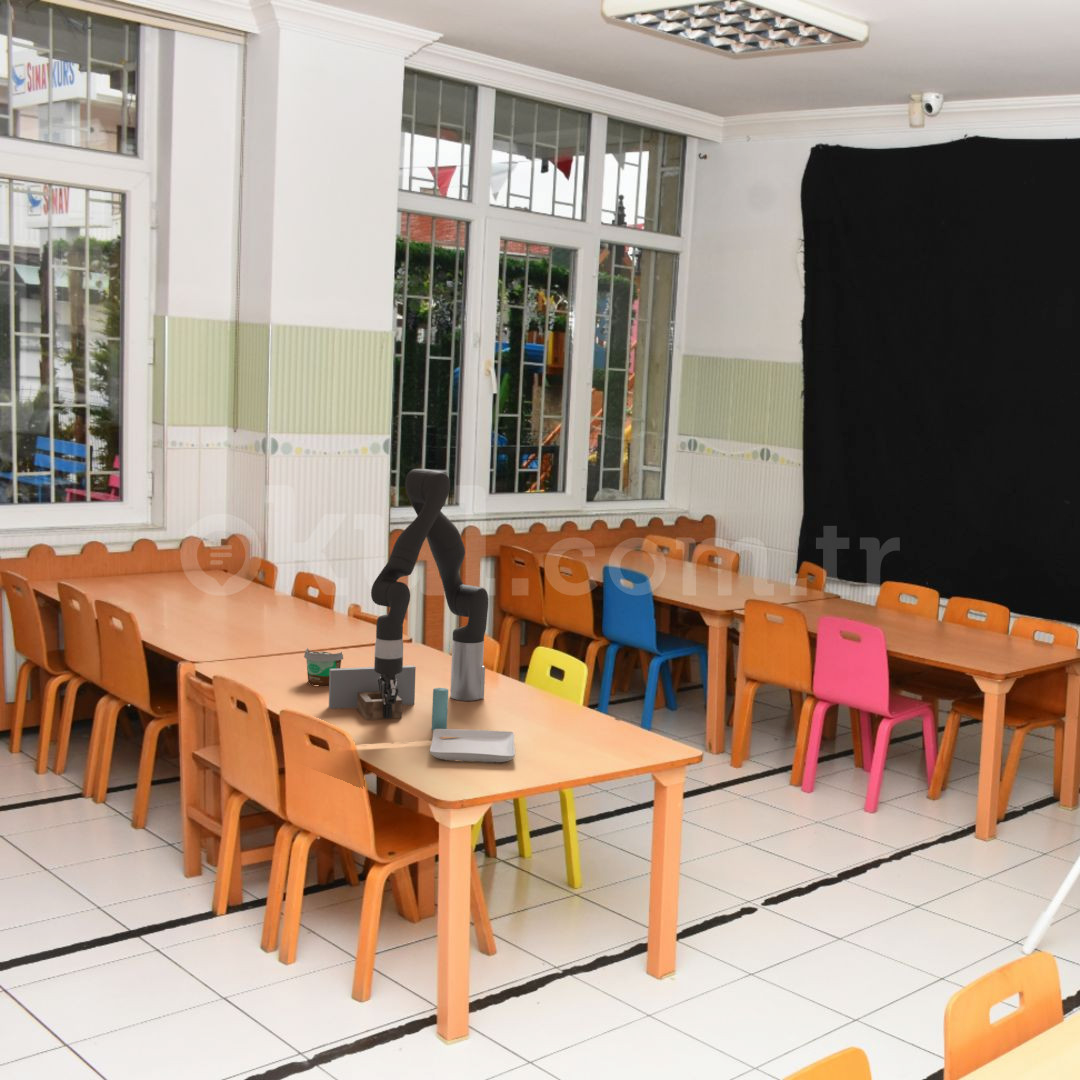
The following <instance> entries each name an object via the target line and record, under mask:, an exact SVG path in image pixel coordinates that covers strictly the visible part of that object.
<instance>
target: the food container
mask: <svg viewBox="0 0 1080 1080" xmlns="http://www.w3.org/2000/svg"><path fill="white" fill-rule="evenodd" d="M303 657H304V659H306V669H307V670H306V671H307V672H306V674H307V683H308V682H309V683H310V684H313V685H319V686H318V687H320V686H328V687H329V673H330V669H337V668H342V667H341V665H342V660H344V655H343V652H342V651H341V652H337V653H331V652H327V651H311V650H309V648H308V647H307V648H306V649H305V651H304V654H303ZM309 683H308V684H309ZM310 684H309V685H310ZM313 685H312V686H313Z"/></svg>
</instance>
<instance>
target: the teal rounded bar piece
mask: <svg viewBox="0 0 1080 1080" xmlns="http://www.w3.org/2000/svg"><path fill="white" fill-rule="evenodd" d="M448 704H449V689H448V688H445V687H436V688H433V690H432V710H431V712H432V713H431V715H432V716H431V731H432V732H433V730H434V729H448V711H449V710H448V707H449V705H448Z"/></svg>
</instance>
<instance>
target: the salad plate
mask: <svg viewBox="0 0 1080 1080" xmlns="http://www.w3.org/2000/svg"><path fill="white" fill-rule="evenodd" d="M444 737H445V738H444ZM429 753H430V754H431V755H432V756H433V757H435V758H437V759H441V760H443V759H445V760H444V761H447V760H462V761H461V762H464V761H482V762H481V763H494V762H496V763H505V762H509V761H511V760H513V759H514V758H515V756H516V749H515V733H514V731H506V730H502V731H500V730H489V729H487V730H486V729H465V728H463V729H460V728H459V729H458V728H457V729H456V728H447V729H434V730H433V731H432V739H431V743H430V748H429Z"/></svg>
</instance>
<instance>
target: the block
mask: <svg viewBox="0 0 1080 1080" xmlns="http://www.w3.org/2000/svg"><path fill="white" fill-rule="evenodd" d="M356 710H357V712H358V713H359V714H360V715H361V716H362V718H363V719H364V720H365V721H370V720H373V721H374V720H388V719H389V720H391V719H392V720H393V719H402V718H403V717H402V716H403V715H402V714H403V712H402V711H403V705H402V699H401V698H400V697H399V696H398V695H397V698H396V701H395V704H392V717H391V718H384V717H383V703H382V699H381V698H380V691H377V692H358V703H357V707H356Z"/></svg>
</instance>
